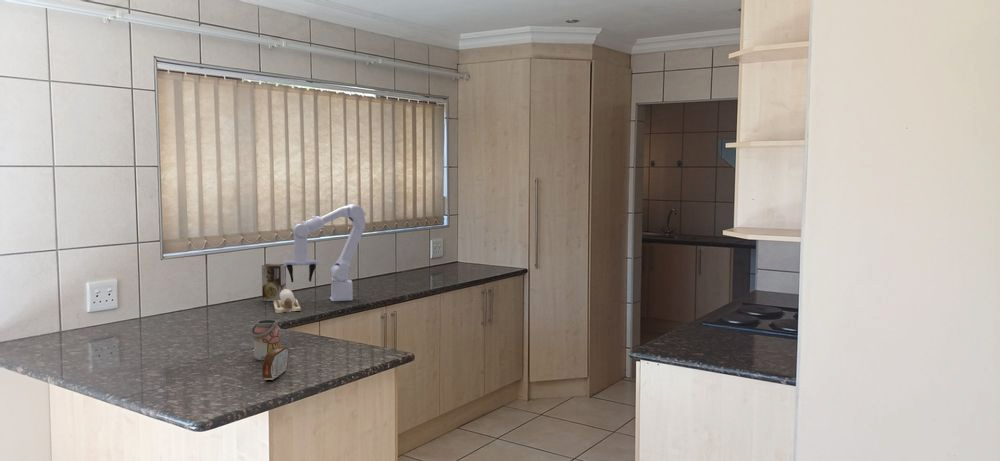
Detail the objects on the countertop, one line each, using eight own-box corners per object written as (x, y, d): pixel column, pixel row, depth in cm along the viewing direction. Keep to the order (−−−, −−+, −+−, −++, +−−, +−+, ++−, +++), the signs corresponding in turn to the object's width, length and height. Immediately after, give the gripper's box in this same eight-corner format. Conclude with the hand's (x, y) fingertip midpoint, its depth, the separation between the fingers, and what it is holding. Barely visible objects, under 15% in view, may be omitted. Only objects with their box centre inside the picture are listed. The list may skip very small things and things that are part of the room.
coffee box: (286, 298, 333) (286, 263, 331) (281, 301, 327) (280, 265, 325) (267, 298, 334) (267, 263, 332) (261, 300, 328) (261, 265, 326)
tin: (280, 369, 224) (280, 342, 223) (290, 369, 224) (290, 342, 223) (261, 384, 209) (260, 355, 208) (271, 384, 209) (271, 356, 208)
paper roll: (292, 301, 321) (293, 289, 320) (294, 307, 309) (295, 294, 309) (278, 301, 319) (280, 288, 318) (280, 306, 307) (282, 293, 307)
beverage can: (263, 364, 229) (262, 326, 228) (245, 359, 233) (244, 322, 232) (286, 357, 237) (285, 321, 236) (268, 353, 241) (268, 317, 240)
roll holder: (296, 302, 325) (296, 292, 325) (300, 311, 306) (300, 301, 306) (273, 303, 322) (273, 293, 321) (275, 313, 303) (275, 302, 302)
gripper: (284, 252, 317) (284, 283, 319) (318, 251, 322) (318, 282, 324) (283, 250, 324) (283, 281, 325) (316, 249, 329) (317, 279, 330)
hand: (301, 281), depth 325 cm, fingers open, 7 cm apart
